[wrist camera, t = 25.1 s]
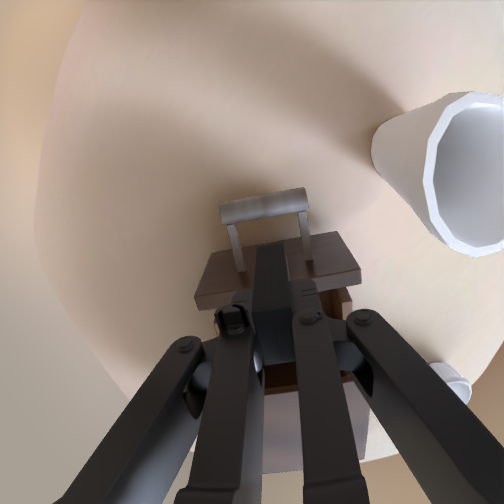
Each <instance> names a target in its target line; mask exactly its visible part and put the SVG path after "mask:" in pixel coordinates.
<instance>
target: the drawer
mask: <svg viewBox="0 0 504 504" xmlns="http://www.w3.org/2000/svg"><path fill="white" fill-rule="evenodd" d="M308 209H309V206H308V199H307V194H306V190H305V188H304V187H302V188H296V189H290V190H285V191H279V192H274V193H268V194H263V195H258V196H252V197H247V198H242V199H237V200H232V201H227V202H222V203H219V215H220V219H221V222H222V224H223V225H227V230H228V235H229V239H230V243H231V247H232V250H226V251H221V252H215V253H211V255H210V258H209V260H208V263H207V265H206V268H205V270H204V273H203V275H202V278H201V280H200V283H199V285H198V288H197V290H196V293H195V295H194V299H195V302H196V305H197V308H198V310H199V311H201V310H208V309H215V308H217V310H218V309H219V308H220V307H222V306H224V305H226V304H230V303H231V300H232V296H233V295H234V294H235V293H236V292H237V291H238V290H244V289H251V288H254V276H255V265H256V254H257V247H259V246H265V245H271V244H277V243H282V242H284V247H285V252H286V258H287V264H288V269H289V275H290V281H295V280H301V279H306V278H310V279H312V280H313V281H314V282H315V283H316V286H317V290H318V294H319V298H320V301H321V305H322V309H323V312H324V313H325V315H326V316H328V317H329V318H332V319H337V320H346V318H347V316H348V315H349V314H350V313H351V312H353V303H352V299H351V297H350V295H349V292H348V290H347V288H346V287H347V286H353V285H358V284H361V283H362V279H361V268H360V267H359V265H358V263H357V262H356V260H355V259H354V257H353V255H352V254H351V252H350V251H349V249H348V247H347V246H346V244H345V243H344V241H343V240H342V238H341V236H340V235H339V233H338V232H337V231H334V232H328V233H322V234H316V235H311V236H310V234H309V228H308V221H307V215H306V211H305V210H308ZM294 212H297V216H298V222H299V228H300V234H301V237H299V238H294V239H288V240H282V241H277V242H271V243H266V244H260V245H254V246H249V247H243V248H241V244H240V240H239V236H238V232H237V227H236V223H239V222H245V221H250V220H255V219H261V218H266V217H272V216H277V215H283V214H288V213H294ZM214 327H215V330H216V333H217V336H219V332H220V331H219V328H218V325H217V322H216V319H214ZM263 369H264V373H265V387H264V389H267V388H275V387H282V386H290V385H296V384H297V373H296V361H294V362H287V363H280V364H272V365H264V361H263ZM340 374H341V377H342V376H347V375H349V373H348V371H343V370H340Z"/></svg>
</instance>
